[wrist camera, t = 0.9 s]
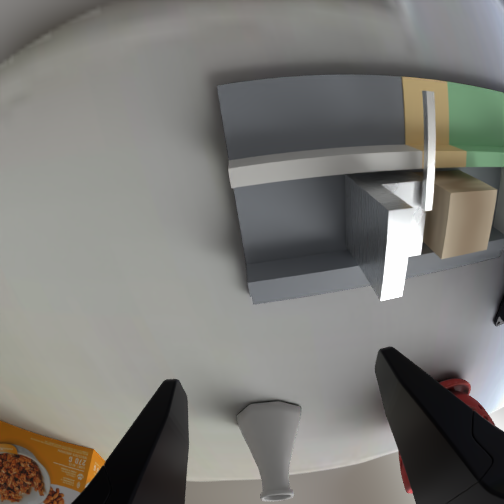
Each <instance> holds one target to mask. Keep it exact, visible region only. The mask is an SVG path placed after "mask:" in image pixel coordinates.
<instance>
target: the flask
mask: <svg viewBox="0 0 504 504" xmlns="http://www.w3.org/2000/svg"><path fill="white" fill-rule="evenodd" d="M300 416H301V407H300V406H296V405H292V404H288V403H284V402H280V401H276V402H266V403H256V404H250V405H249V406H247V407H246V408H245V409H244V410H243V411H242V412H240V413H239V414H238V415H237V416H236V417H237V421H238V424H239V428H240V430H241V432H242V435H243V437H244V439H245V441H246V443H247V445H248V447H249V449H250V451H251V453H252V455H253V458H254V460H255V462H256V464H257V466H258V468H259V472H260V475H261V479H262V486H263V492H262V493H261V494H260V498H261V500H262V501H282V500H287V499H290V498H292V497H293V496H294V493H293V490H292V489H290V486H289V465H290V460H291V456H292V452H293V447H294V443H295V439H296V435H297V431H298V428H299V423H300Z"/></svg>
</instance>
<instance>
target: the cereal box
mask: <svg viewBox="0 0 504 504" xmlns="http://www.w3.org/2000/svg"><path fill="white" fill-rule="evenodd" d="M104 463H105V461H104V460H103V458H102V457H101V456H100V455H99V454H98V453H97V452H96V451H95V450H94V449H91V448H86V447H82V446H78V445H74V444H70V443H66V442H62V441H59V440H55V439H52V438H49V437H45V436H42V435H39V434H36V433H33V432H30V431H27V430H24V429H21V428H19V427H16V426H13V425H11V424H8V423H6V422H3V421H1V420H0V504H71V503H72V502H73V501H74V500H75V499H76V498H77V497H78V496H79V494H80V493H81V492H82V491H83V490H84V489H85V488H86V487H87V485H88V484H89V483H90V482H91V480H92V479H93V478H94V476H95V475H96V474H97V472H98V471H99V470H100V468H101V467H102V466H103V465H104Z"/></svg>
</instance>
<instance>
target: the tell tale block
mask: <svg viewBox="0 0 504 504" xmlns="http://www.w3.org/2000/svg"><path fill="white" fill-rule="evenodd" d="M414 173H415V174H417V175H419V176H421V177H422V178H423V172H414ZM496 196H497V189H495V188H493V187H492V186H490V185H488V184H486V183H484V182H482V181H480V180H478V179H476V178H474V177H472V176H470V175H468V174H466V173H464V172H462V171H460V170H450V171H435V178H434V193H433V204H432V210H431V211H426V216H425V226H424V234H423V242H424V243H425V244H426V245H427V246H428V247H429V248H430V249H431V250H432V251H433V252H434V253H435V254H436V255H437V256H438V257H439V258H440V259H445V258H450V257H455V256H459V255H464V254H469V253H473V252H478V251H483V250H487V246H488V241H489V236H490V232H491V226H492V221H493V215H494V210H495V203H496Z"/></svg>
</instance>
